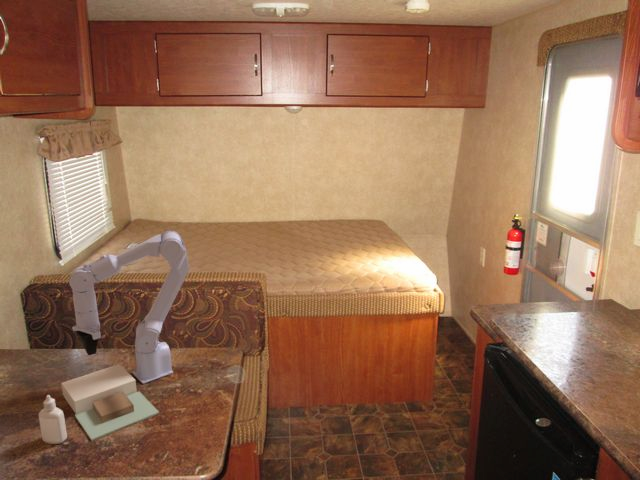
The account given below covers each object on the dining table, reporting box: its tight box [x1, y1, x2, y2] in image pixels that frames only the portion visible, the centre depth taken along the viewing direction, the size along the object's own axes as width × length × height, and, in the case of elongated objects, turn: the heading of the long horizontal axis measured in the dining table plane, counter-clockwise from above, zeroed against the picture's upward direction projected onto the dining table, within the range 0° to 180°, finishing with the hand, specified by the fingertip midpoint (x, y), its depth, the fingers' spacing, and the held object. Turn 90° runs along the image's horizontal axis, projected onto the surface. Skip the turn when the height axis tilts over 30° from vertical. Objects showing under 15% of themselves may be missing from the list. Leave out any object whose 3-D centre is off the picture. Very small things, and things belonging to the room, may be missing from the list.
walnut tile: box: [92, 392, 134, 423], centre depth 133 cm, size 8×8×2 cm
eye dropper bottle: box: [38, 394, 68, 445], centre depth 121 cm, size 4×6×12 cm
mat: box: [74, 391, 160, 442], centre depth 132 cm, size 17×13×1 cm
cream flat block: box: [61, 363, 138, 415], centre depth 141 cm, size 16×12×4 cm
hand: (91, 353), depth 144 cm, fingers closed
